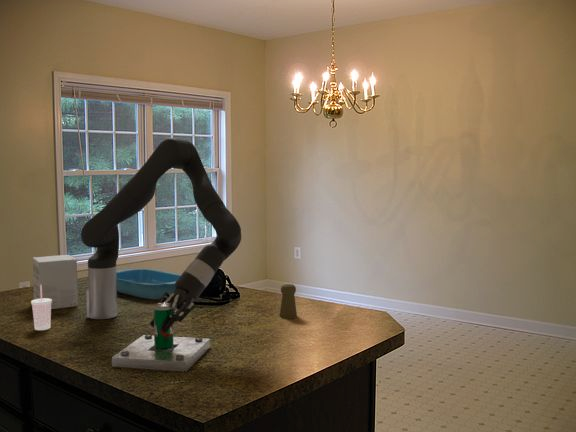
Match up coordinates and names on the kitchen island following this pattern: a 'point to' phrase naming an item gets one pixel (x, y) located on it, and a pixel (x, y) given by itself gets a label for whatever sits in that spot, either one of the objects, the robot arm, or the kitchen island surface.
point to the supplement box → (56, 280)
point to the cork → (288, 301)
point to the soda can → (160, 315)
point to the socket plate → (161, 354)
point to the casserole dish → (146, 283)
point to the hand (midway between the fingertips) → (157, 328)
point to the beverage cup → (41, 312)
